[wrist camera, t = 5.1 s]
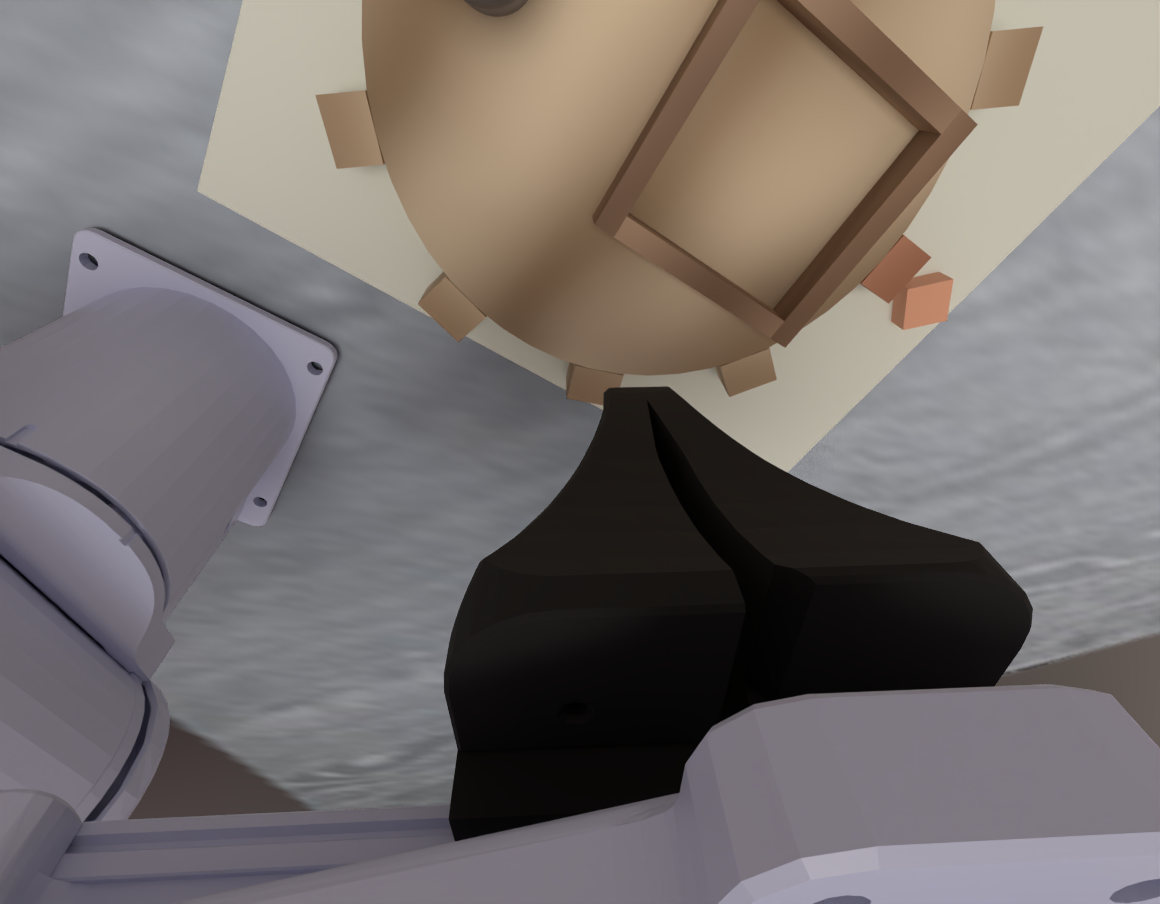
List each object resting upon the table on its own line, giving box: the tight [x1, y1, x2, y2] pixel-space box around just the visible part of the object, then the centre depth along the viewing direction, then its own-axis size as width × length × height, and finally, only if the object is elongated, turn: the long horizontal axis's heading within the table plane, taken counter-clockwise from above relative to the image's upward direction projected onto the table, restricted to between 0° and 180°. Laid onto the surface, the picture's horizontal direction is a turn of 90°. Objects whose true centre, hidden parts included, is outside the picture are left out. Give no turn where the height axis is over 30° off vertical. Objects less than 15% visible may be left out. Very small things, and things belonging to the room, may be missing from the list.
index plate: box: [197, 0, 1160, 472], centre depth 16 cm, size 18×22×2 cm
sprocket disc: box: [315, 0, 1043, 405], centre depth 13 cm, size 17×17×5 cm
